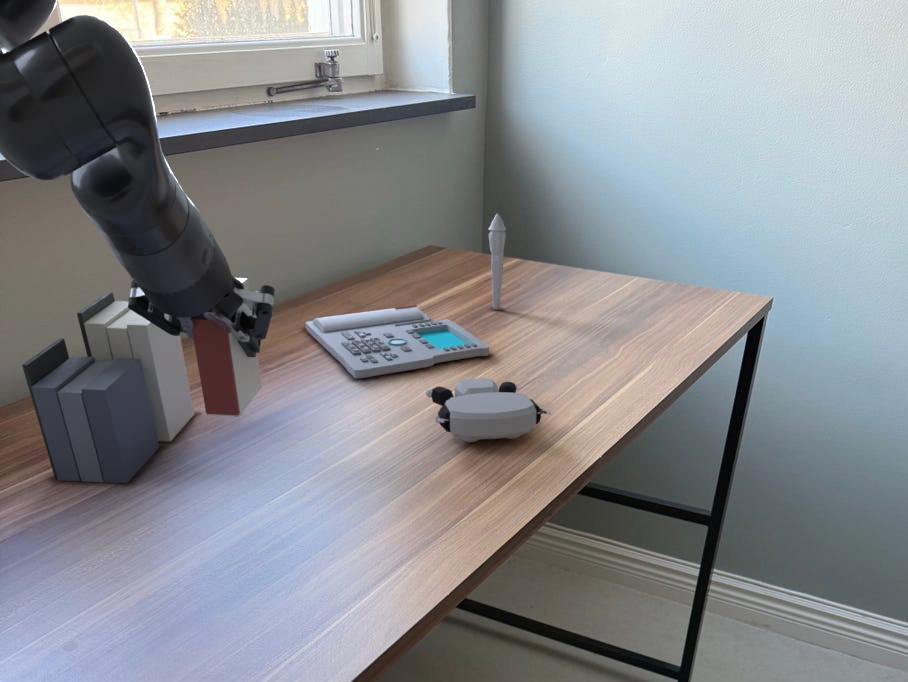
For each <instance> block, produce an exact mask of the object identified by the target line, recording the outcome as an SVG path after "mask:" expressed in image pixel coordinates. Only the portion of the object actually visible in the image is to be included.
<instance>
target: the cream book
mask: <svg viewBox="0 0 908 682" xmlns="http://www.w3.org/2000/svg"><path fill="white" fill-rule="evenodd" d="M235 278H236V279H237V280H239V281H240V282H241V283H242V284H243V286H244V289H247V290H250V287H249V279H248V278H246V277H244V278H243V277H235ZM242 304H243V307H244V308H245V309H246V310H247V311H248V312H249V313H250V314H251V315H252V311H251V310H250V309H249V307H248V305H246V304H244V303H242ZM194 320H195V329H192V333H193V339H192V340H193V344H194V350H195V355H196V362H197V368H198V374H199V380H200V387H201V390H202V397H203V404H204V409H205V414H206V416H210V417H211V416H212V417H228V418H239V417H240V416H241V415H242V414H243V412H244V411H245V410H246V409H247V407H248V406H249V405H250V403H252V401H253V399H254V398H255V397H256V395H257V394H258V393H259V391H260V390H261V389H262V388H263V386H262V378H261V372H260V363H259V356H258V353H256V357H248V356H247V355H246V353H245V352H244V350H243V349H242V347H241V346H240V344H239V342H238V340H237V339H236V338H235V337H234V336H233V335H232V333H227V331H226V330H221V329H220V328H219V327H218V326H217V325H216V324H215V323H214V322H212V321H208V320H202V319H194Z"/></svg>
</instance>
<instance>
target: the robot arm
mask: <svg viewBox="0 0 908 682" xmlns="http://www.w3.org/2000/svg"><path fill="white" fill-rule="evenodd" d="M57 1H58V0H0V155H1V156H2V157H3V158H4V159H5V160H6V161H7V162H8V163H9V164H10V165H11V166H12V167H13V168H15V169H16V170H18V171H19V172H20V173H22V174H24V175H25V176H28V177H29V178H32V179H35V180H38V181H43V182H53V181H56V180H59V179H62V178H64V177H66V176H68V175H69V185H70V189H71V192H72V194H73V196H74V199H75V200H76V202H77V204H78V205H79V207H80V208H81V210H82V211H83V213H84V215H86V216H87V218H88V219H89V220H90V222H92V223H93V225H94V226H95V227H96V228H97V230H98V231H99V233H100V234H101V236H102V237H103V238H104V239H105V240H106V242H107V243H108V245H109V248H110V249H111V251H112V253H113V255H114V257H115V258H116V260H117V261H118V263H119V264H120V266H122V267H123V269H124V270H125V271H126V273H127V274H128V275H129V276H130V278H131V279H132V280H131V282H130V288H129V294H128V301H129V303H128V308H129V309H130V310H132V311H134V312H135V313H137V314H138V315H140V316H141V317H143V318H145V319H146V320H148V321H149V322H151V323H152V324H154V325H156V326H157V327H159V328H160V329H162V330H164V331H165V332H167V333H168V334H170V335H173V336H179V335H180V336H181V333H185V334H186V336H187V338H189V339H192V340H194V339H193V333H192V329H195V320H194V319H202V320H208V321H212V322H214V323H215V324H216V325H217V326H218V327H219V328H220V329H221V330H226V331H227V333H232V335H233V336H234V337H235V338H236V339H237V340H238V342H239V344H240V346H241V347H242V349H243V350H244V352H245V353H246V355H247V356H248V357H256V353H257V354H260V353H261V352H260V351H261V342H262V340H266V338H267V334H268V331H269V327H270V323H271V320H272V316H273V308H274V307H273V306H274V300H275V293H276V292H275V291H276V289H275V288H274V287H273V286H271V285H268V284H263V285H261V287H260V289H259V290H251V289H249V290H247V289H244V286H243V284H242V283H241V282H240V281H239V280H237V279H236V278H237V277H234V276H233V274H232V272H231V268H230V265H229V263H228V260H227V258H226V255H225V254H224V252H223V251H222V249H221V247H220V246H219V243H218V242H217V240H216V239H215V237H214V235H213V233H212V232H211V230H210V228H209V226H208V225H207V223H206V221H205V219H204V218H203V216H202V214H201V212H200V211H199V209H198V208H197V206H196V205H195V204H194V202H193V201H192V200H191V199H190V198H189V197H188V195H187V194H186V193H185V191H184V190H183V188H182V186H181V184H180V183H179V181H178V180H177V178H176V176H175V174H174V172H173V171H172V169H171V167H170V165H169V164H168V161H167V160H166V158H165V155H164V153H163V150H162V149H163V148H162V146H161V141H160V135H159V129H158V123H157V116H156V115H157V114H156V110H155V103H154V101H153V95H152V91H151V88H150V84H149V80H148V77H147V75H146V71H145V69H144V66H143V65H142V62H141V59H140V58H139V56H138V54H137V52H136V51H135V49H134V48H133V46H132V44H131V43H130V42H129V41H128V39H127V38H126V37H125V36H124V35H123V34H122V33H121V32H120V31H119V30H118V29H117V28H115V26H113V25H112V24H110V23H108V22H107V21H105V20H103V19H101V18H99V17H96V16H93V15H87V14H81V15H75V16H71V17H69V18H67V19H64V20H63V21H61V22H59V23H58V24H56V25H54V26H52V27H50V28H48V31H47V30H45V31H43V32H41V33H39V34H37V35H36V33H37V32H39V31H40V29H41V28H42V27H43V26H44V25H45V24H46V22H47V21H48V20H49V19H50V17H51V15H52V13H53V12H54V10H55V8H56V6H57ZM35 35H36V36H35ZM242 303H244V304H246V305H248V307H249V309H250V310H251V311H252V315H251V314H250V313H249V312H248V311H247V310H246V309H245V308H244V307H243V304H242ZM164 314H168V315H169V321H168V320H167V319H165V316H164Z"/></svg>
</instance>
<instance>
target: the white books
mask: <svg viewBox="0 0 908 682" xmlns="http://www.w3.org/2000/svg"><path fill="white" fill-rule="evenodd" d="M128 303H129V300H128V301H126V300H125V301H123V300H115V296H114V291H108V292H106V293H105V294H103V295H101V296H99V298H97V299H95V300H94V301H92V302H91V303H90V304H88V305H86V306H85V307H84V308H82V309H80V310H79V311H77V312H76V316H77V320H78V324H79V328H80V331H81V332H80V333H81V336H82V340H83V345H84V348H85V352H86V357H94V358H95V361H116V360H117V359H118V358H133V359H140V360H141V364H142V369H143V374H144V378H145V383H146V388H147V392H148V397H149V402H150V406H151V411H152V416H153V420H154V425H155V430H156V434H157V439H158V442H164V443H165V442H166V443H167V442H168V443H170V442H172V441H173V439H174V438H175V437H177V435H178V434H180V432H181V431H182V429H183V428H184V427H185V426H186V425H187V424H188V423H189V421H190V420H191V419H192V418H193V417H194V416H195V410H194V404H193V399H192V394H191V388H190V383H189V377H188V372H187V366H186V361H185V354H184V350H183V344H182V340H181V334H180V335H179V336H173V335H170V334H168V333H167V332H165V331H164V330H162V329H160V328H159V327H157V326H156V325H154V324H152V323H151V322H149V321H148V320H146V319H145V318H143V317H141V316H140V315H138V314H137V313H135V312H134V311H132V310H130V309H129V308H128ZM164 316H165V319H167V320H168V321H169V315H168V314H164Z"/></svg>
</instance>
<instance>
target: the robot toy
mask: <svg viewBox="0 0 908 682" xmlns="http://www.w3.org/2000/svg"><path fill="white" fill-rule="evenodd" d="M517 389H518V385H517V383H514V382H512V381H504V382H501V384H500V385H499V387H498V384H497V383H496V382H495V381H494V380H493V379H492V378H485V377H473V378H465V379H462V380H459V381H458V382H457V383H456V384H455V386H454V394H453V391H452V390H451V389H449V388H447V387H444V386H435V387H434V388H431V389H430V388H429V389H426V390H425V395H426V396H427V397H428V398H431V400H432V403H433V404H436V405H439V406H440V408H439V410H438V412H437V416H435V423H438V424H439V425H440V426H441V428H443V429H444V431H445V432H446V433H447V432H448V433H450V434H451V436H452V437H455V438H458V439H459V440H461V441H462V442H465V443H475V442H477V441H480V440H496V439H510V440H514V439H517V438H519V437H521V436H522V435H526V434H528V433H530V432H532V431H533V430H535V427H536V426H537V425H539V423H540V422H541V418H542V415H543V414H545V415H548V416H549V415H552V412H551V411H552V410H545V409H544V408H541V407H540V406H539V404H537V403H536V402H535V401H534V399H532V398H529V396H528V395H526V394H523V393H518V392H517V391H518V390H517Z"/></svg>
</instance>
